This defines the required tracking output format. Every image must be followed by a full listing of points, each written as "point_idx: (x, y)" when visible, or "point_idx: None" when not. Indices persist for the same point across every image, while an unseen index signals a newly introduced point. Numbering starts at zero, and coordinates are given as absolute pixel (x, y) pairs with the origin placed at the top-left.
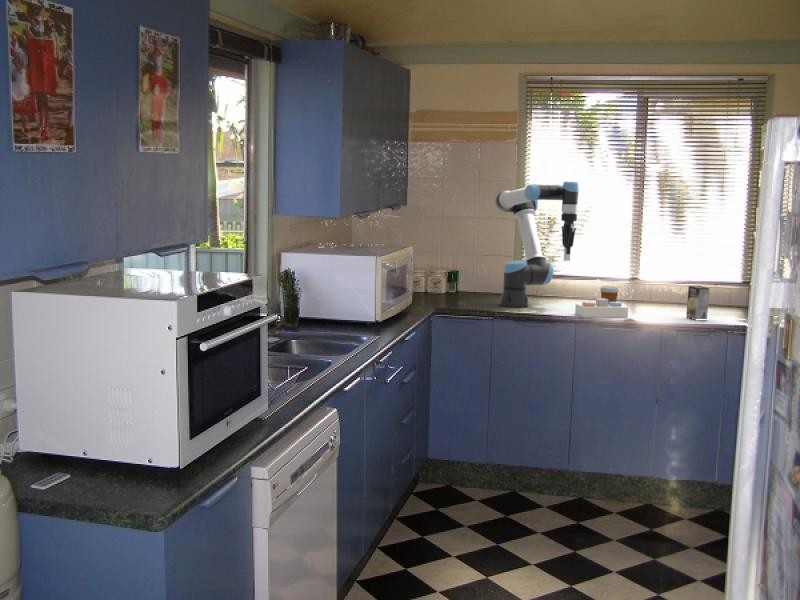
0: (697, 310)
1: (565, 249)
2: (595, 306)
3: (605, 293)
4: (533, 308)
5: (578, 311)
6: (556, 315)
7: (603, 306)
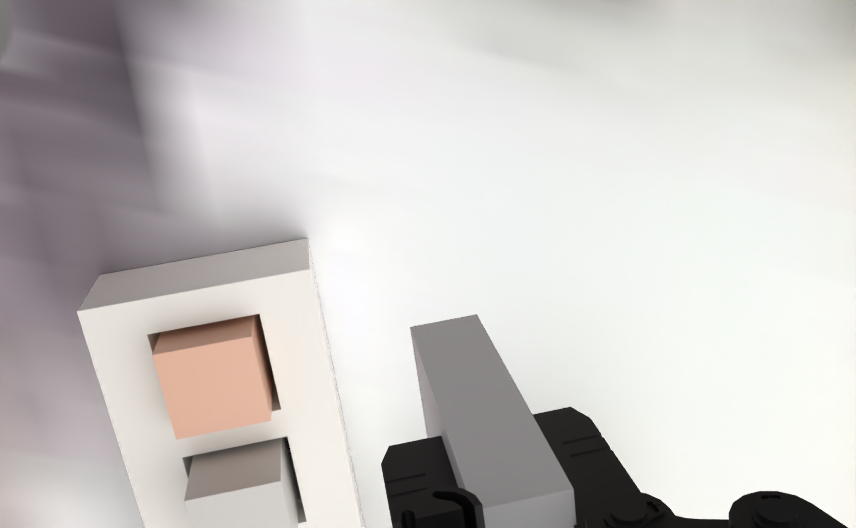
0: None
1: (462, 475)
2: None
3: None
4: None
5: (230, 263)
6: (180, 32)
7: None
